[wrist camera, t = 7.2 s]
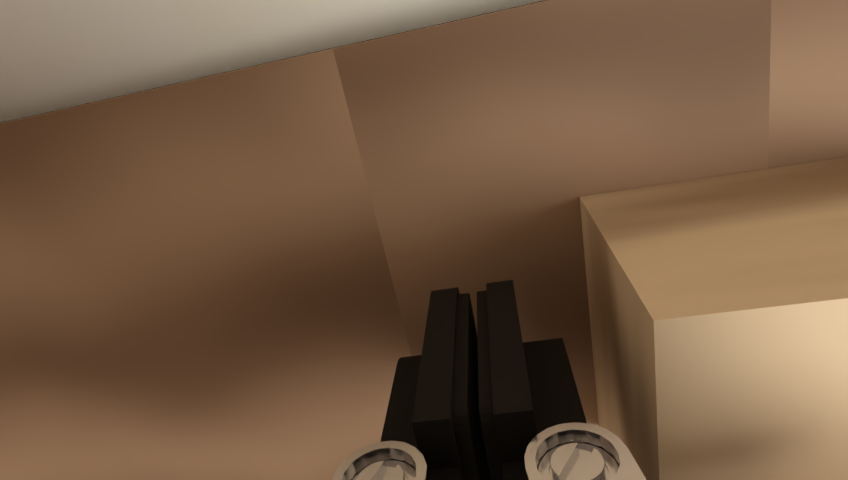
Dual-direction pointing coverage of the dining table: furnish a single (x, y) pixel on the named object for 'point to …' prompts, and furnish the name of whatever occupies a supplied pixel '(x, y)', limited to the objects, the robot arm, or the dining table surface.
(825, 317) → the maple block
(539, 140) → the trap deck
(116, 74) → the dining table surface
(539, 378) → the robot arm
